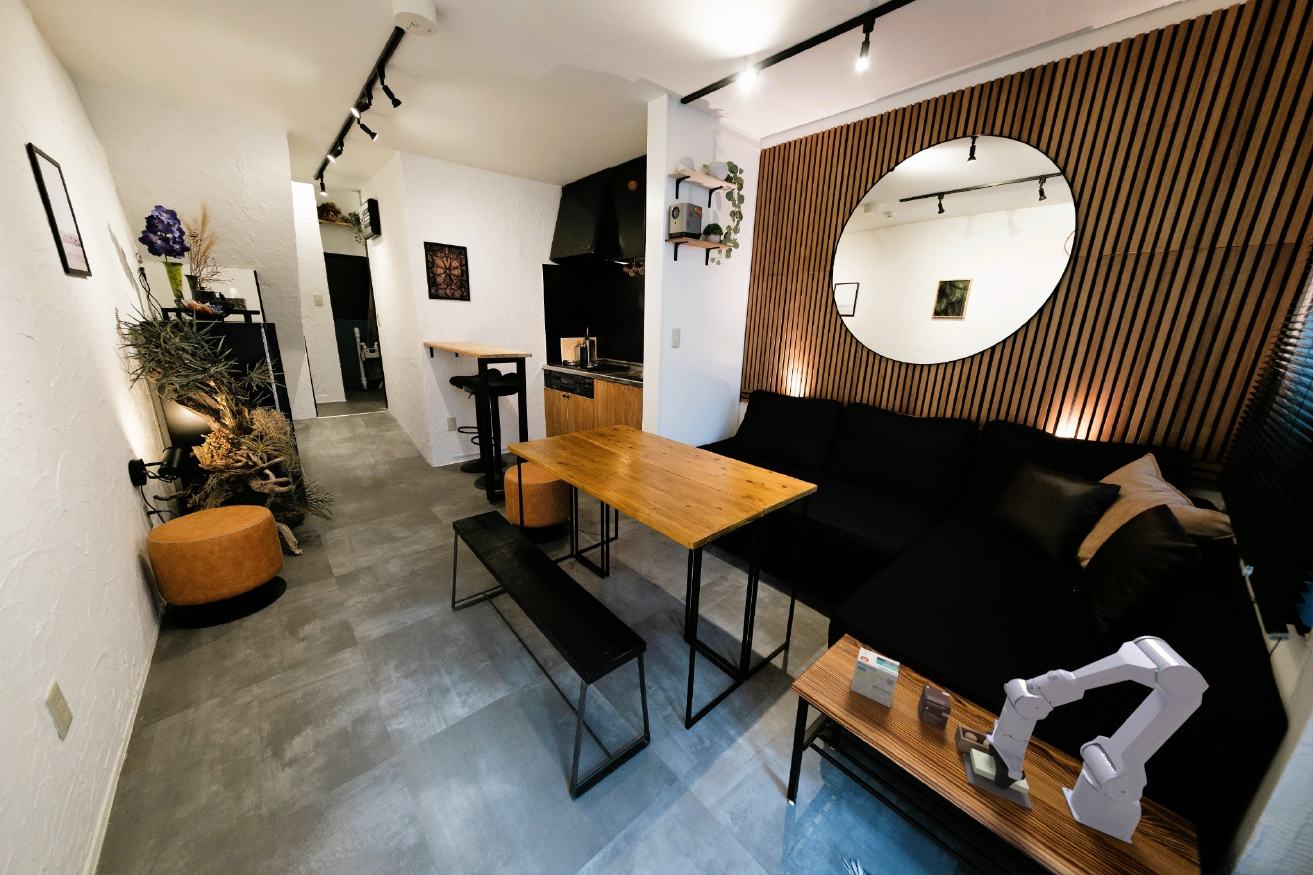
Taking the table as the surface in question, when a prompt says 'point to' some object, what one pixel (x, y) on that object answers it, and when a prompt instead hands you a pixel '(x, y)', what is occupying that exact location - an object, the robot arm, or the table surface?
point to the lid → (992, 769)
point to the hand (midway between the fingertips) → (996, 775)
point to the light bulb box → (875, 676)
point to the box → (934, 706)
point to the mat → (990, 785)
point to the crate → (970, 740)
